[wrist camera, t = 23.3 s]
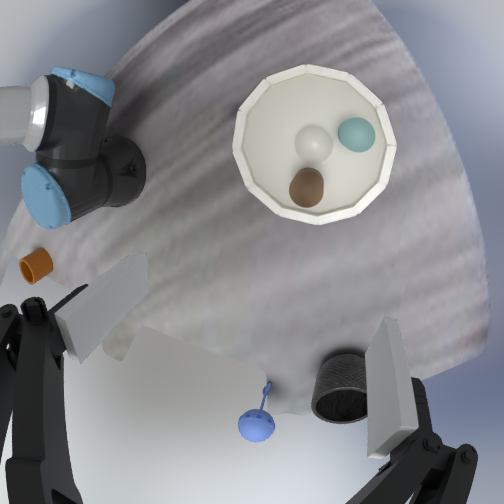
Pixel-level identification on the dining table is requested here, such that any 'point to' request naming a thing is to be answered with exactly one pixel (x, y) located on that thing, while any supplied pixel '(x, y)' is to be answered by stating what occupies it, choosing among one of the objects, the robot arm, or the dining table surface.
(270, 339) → the dining table surface
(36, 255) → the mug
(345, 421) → the planter
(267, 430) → the baby rattle
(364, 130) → the teal cylinder
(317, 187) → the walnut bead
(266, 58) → the dining table surface
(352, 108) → the round cream tray
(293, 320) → the dining table surface
